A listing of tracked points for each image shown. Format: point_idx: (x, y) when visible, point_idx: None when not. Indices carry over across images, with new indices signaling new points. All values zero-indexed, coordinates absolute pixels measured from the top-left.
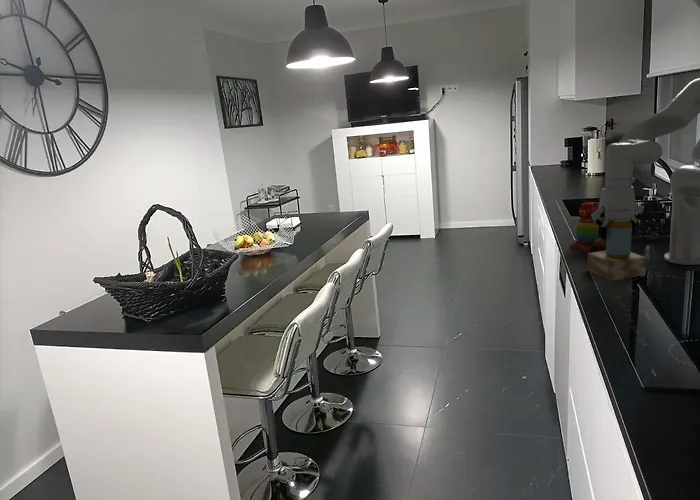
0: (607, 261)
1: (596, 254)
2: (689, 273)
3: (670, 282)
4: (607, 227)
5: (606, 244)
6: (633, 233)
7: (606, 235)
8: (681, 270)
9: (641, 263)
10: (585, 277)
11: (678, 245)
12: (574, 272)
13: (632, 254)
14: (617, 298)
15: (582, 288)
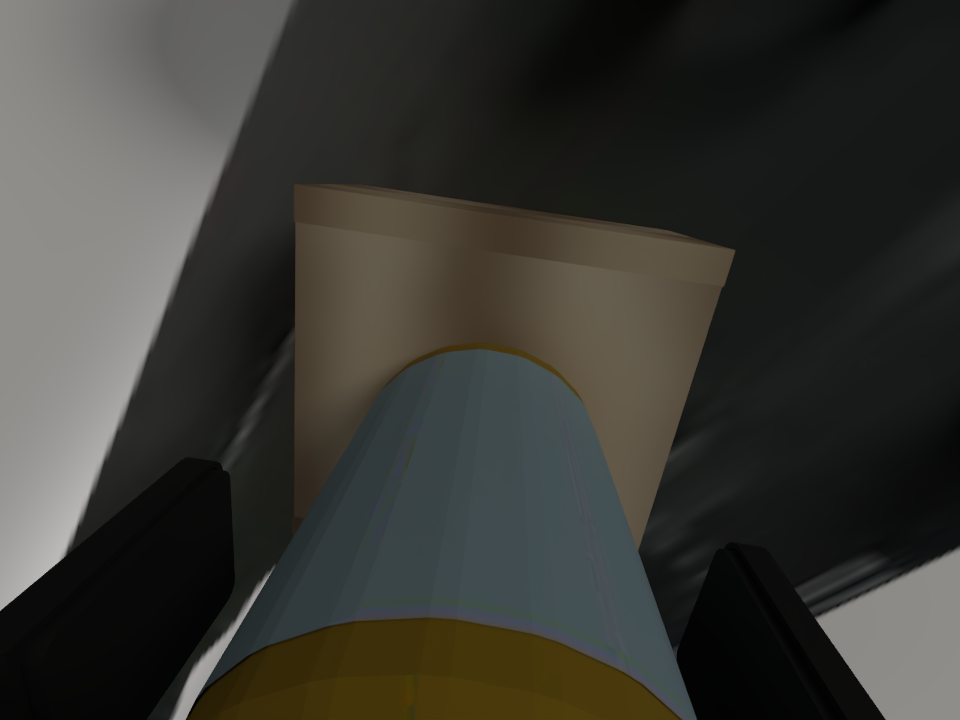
0: (294, 501)
1: (345, 283)
2: (829, 589)
3: None
4: (195, 702)
5: (346, 448)
6: (693, 694)
7: (189, 644)
8: (857, 535)
9: None
10: (252, 313)
11: None
12: (241, 168)
13: (618, 478)
14: (219, 633)
15: (130, 458)
